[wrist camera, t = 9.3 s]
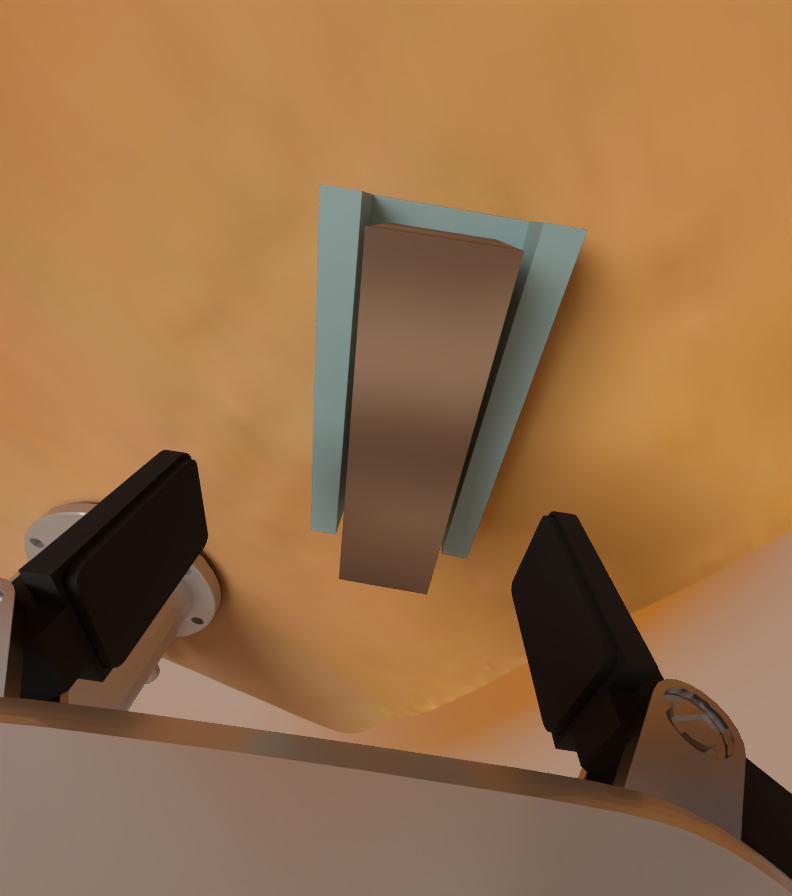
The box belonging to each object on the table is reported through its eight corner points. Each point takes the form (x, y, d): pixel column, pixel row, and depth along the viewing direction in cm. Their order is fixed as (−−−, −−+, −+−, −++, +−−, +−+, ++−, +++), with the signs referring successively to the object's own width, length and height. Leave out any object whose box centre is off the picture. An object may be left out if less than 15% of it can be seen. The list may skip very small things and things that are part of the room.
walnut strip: (430, 509, 19) (426, 594, 14) (362, 497, 19) (339, 578, 14) (495, 239, 12) (523, 251, 8) (391, 222, 12) (364, 225, 8)
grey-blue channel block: (463, 514, 20) (466, 558, 17) (327, 490, 20) (310, 530, 17) (558, 226, 13) (587, 229, 10) (343, 190, 13) (319, 183, 10)
